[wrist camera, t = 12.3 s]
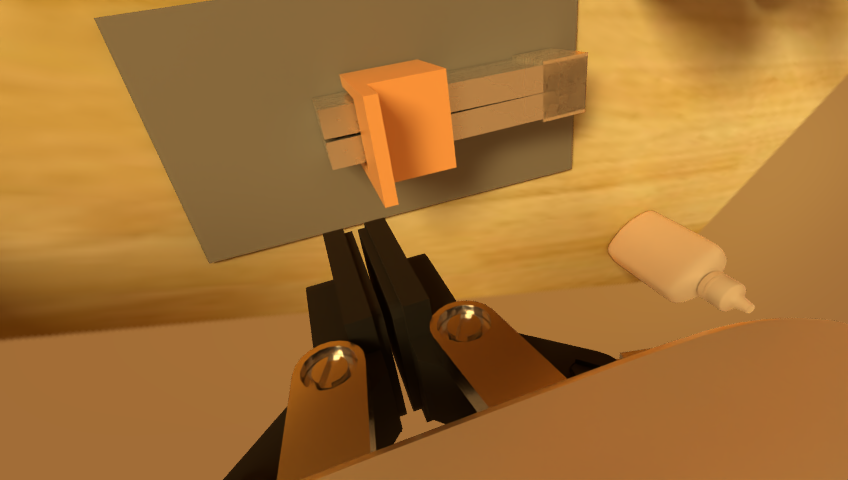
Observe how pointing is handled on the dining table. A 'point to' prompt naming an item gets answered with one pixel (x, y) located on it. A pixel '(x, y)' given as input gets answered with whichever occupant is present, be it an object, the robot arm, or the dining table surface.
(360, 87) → the collar
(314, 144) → the mat
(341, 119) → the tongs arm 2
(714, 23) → the dining table surface
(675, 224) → the eye dropper bottle
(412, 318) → the robot arm
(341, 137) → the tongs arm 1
